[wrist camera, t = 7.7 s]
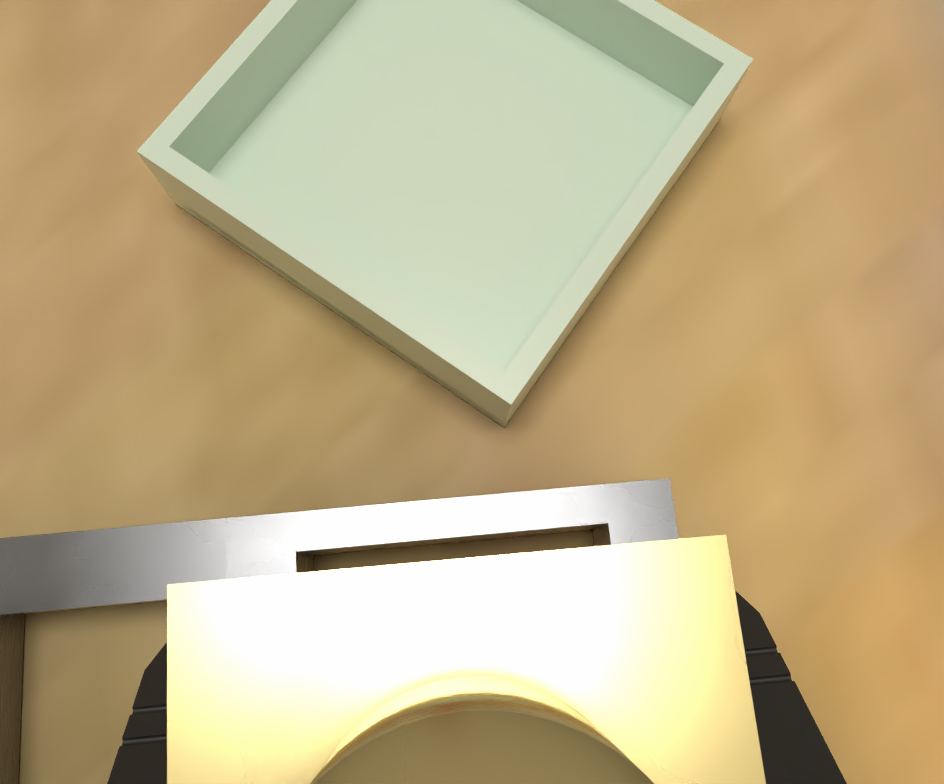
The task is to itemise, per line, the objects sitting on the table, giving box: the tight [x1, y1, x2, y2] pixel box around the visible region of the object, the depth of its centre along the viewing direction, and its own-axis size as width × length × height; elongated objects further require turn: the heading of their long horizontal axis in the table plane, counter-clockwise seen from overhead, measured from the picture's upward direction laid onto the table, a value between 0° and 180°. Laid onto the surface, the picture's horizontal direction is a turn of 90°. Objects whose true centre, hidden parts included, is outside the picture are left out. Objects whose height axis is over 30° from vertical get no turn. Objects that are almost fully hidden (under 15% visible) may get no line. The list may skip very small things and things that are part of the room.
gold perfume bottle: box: [167, 535, 766, 784], centre depth 11 cm, size 5×5×13 cm
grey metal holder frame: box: [0, 478, 679, 784], centre depth 17 cm, size 8×16×2 cm, turn 95°
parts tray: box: [137, 0, 753, 428], centre depth 19 cm, size 10×10×2 cm
